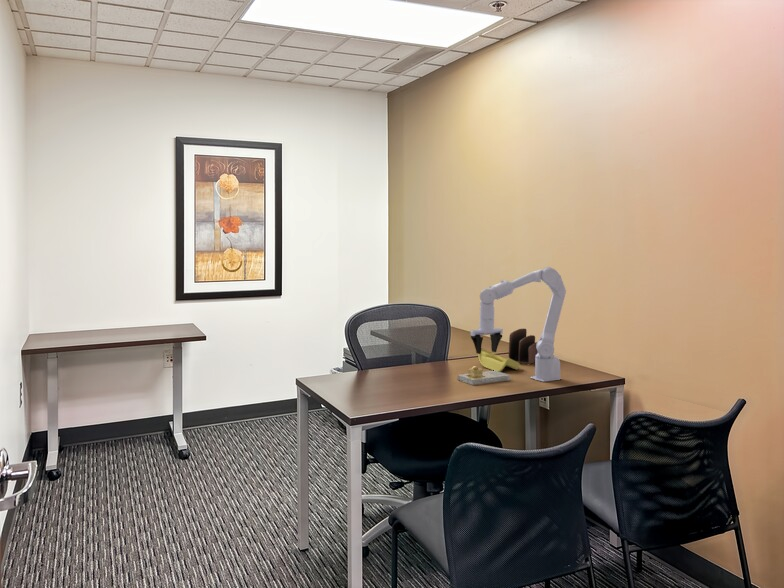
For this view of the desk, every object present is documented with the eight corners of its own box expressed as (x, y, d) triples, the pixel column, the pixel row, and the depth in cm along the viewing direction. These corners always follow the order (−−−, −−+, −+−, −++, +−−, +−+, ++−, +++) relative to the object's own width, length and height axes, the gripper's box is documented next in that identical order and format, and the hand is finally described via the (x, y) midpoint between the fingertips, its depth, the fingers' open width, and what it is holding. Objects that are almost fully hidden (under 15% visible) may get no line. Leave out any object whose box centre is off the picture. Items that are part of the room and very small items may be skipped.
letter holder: (508, 362, 279) (508, 331, 278) (524, 355, 296) (524, 326, 294) (529, 365, 274) (530, 333, 272) (544, 358, 290) (545, 328, 289)
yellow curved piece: (522, 364, 263) (506, 356, 258) (515, 380, 262) (499, 372, 257) (492, 353, 280) (477, 345, 275) (486, 368, 279) (470, 361, 274)
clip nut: (476, 376, 244) (476, 365, 244) (482, 378, 241) (482, 367, 240) (468, 377, 242) (468, 366, 242) (474, 379, 239) (474, 368, 239)
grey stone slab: (494, 375, 252) (494, 370, 252) (510, 380, 243) (510, 375, 243) (457, 379, 244) (457, 374, 243) (472, 385, 235) (472, 379, 235)
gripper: (495, 316, 254) (494, 349, 255) (466, 318, 247) (465, 352, 248) (506, 318, 247) (505, 352, 249) (476, 320, 241) (476, 355, 242)
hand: (486, 352), depth 248 cm, fingers open, 7 cm apart
